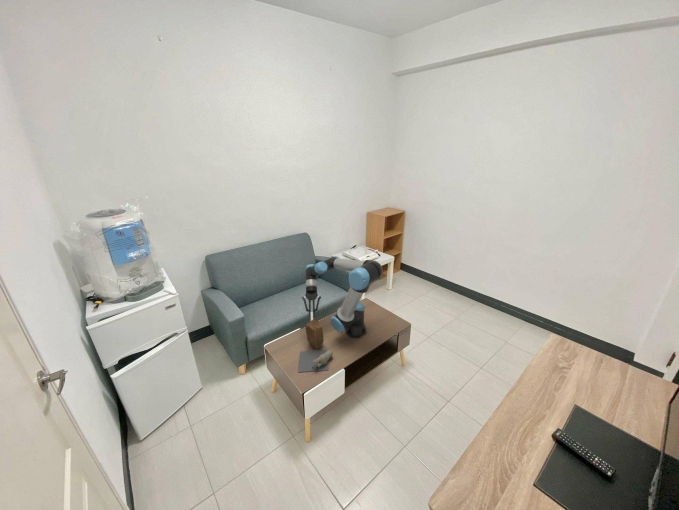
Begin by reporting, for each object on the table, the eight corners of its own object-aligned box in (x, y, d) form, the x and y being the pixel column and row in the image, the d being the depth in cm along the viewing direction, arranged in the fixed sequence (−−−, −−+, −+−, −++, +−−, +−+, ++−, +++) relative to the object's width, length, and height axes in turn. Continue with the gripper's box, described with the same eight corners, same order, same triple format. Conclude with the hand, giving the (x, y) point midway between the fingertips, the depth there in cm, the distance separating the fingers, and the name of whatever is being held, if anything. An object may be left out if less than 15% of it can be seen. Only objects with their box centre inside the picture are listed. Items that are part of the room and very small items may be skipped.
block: (324, 344, 182) (323, 324, 170) (316, 351, 178) (314, 332, 166) (313, 334, 188) (311, 315, 176) (305, 341, 184) (302, 322, 172)
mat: (327, 350, 178) (327, 349, 178) (328, 370, 163) (328, 369, 163) (299, 352, 177) (299, 351, 177) (298, 372, 162) (298, 372, 161)
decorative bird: (335, 358, 171) (334, 348, 168) (317, 373, 160) (316, 364, 157) (328, 354, 174) (328, 344, 171) (310, 369, 163) (309, 359, 160)
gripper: (321, 287, 190) (322, 322, 181) (302, 288, 189) (302, 323, 180) (320, 284, 183) (321, 320, 174) (301, 285, 182) (301, 321, 173)
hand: (312, 321), depth 177 cm, fingers closed
